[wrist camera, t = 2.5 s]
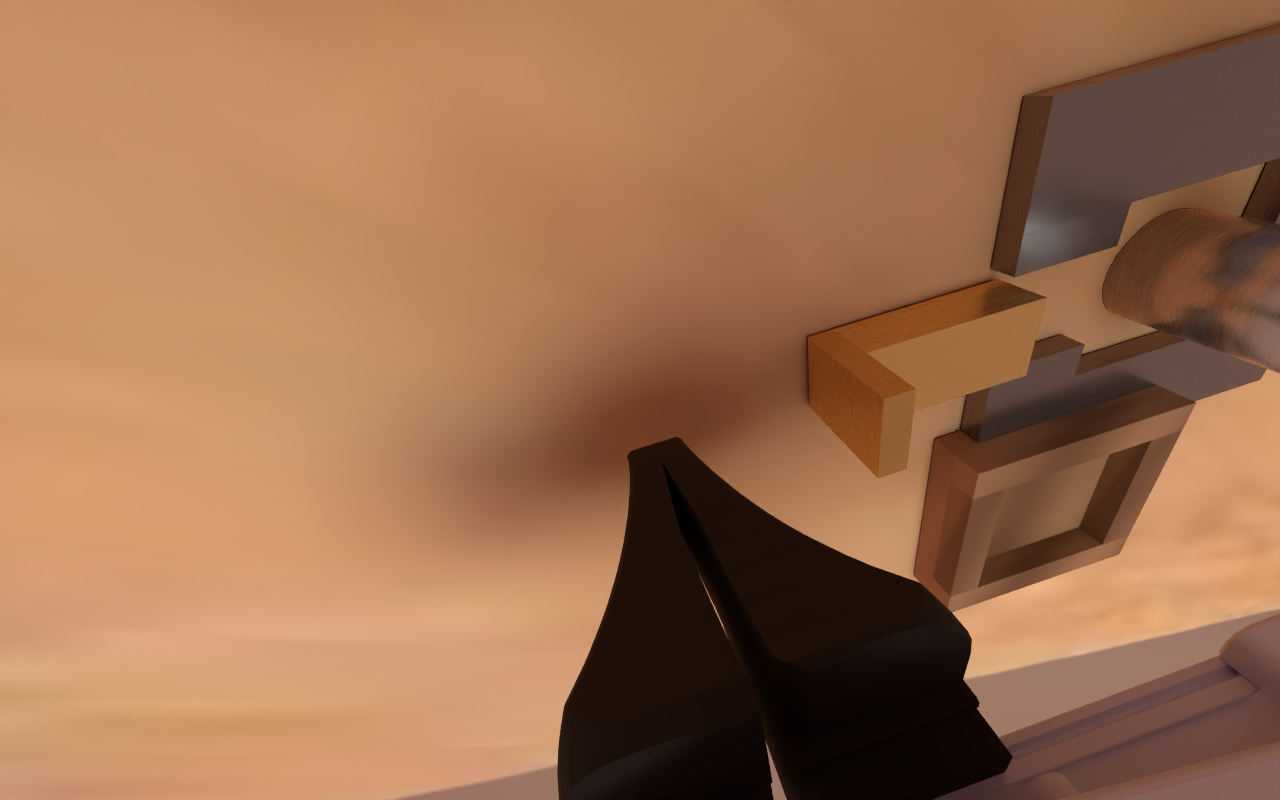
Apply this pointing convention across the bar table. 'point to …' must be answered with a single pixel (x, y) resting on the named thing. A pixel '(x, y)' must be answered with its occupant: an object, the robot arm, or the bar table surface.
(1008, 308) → the golden l-shaped block
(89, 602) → the bar table surface
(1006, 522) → the square wooden tray
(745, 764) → the robot arm
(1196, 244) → the peg
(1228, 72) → the socket collar
